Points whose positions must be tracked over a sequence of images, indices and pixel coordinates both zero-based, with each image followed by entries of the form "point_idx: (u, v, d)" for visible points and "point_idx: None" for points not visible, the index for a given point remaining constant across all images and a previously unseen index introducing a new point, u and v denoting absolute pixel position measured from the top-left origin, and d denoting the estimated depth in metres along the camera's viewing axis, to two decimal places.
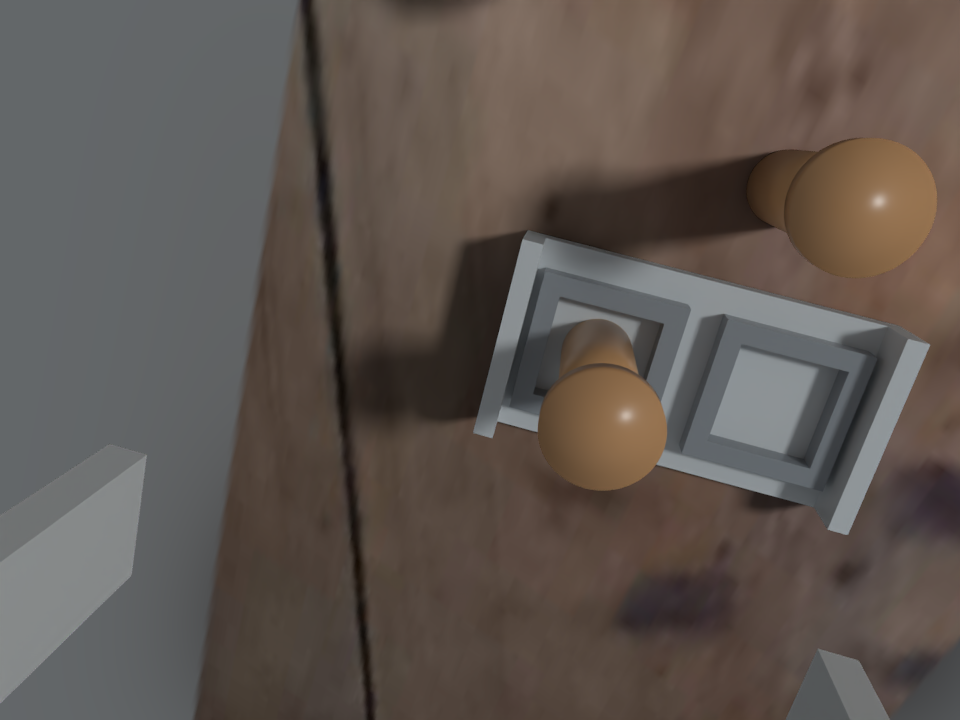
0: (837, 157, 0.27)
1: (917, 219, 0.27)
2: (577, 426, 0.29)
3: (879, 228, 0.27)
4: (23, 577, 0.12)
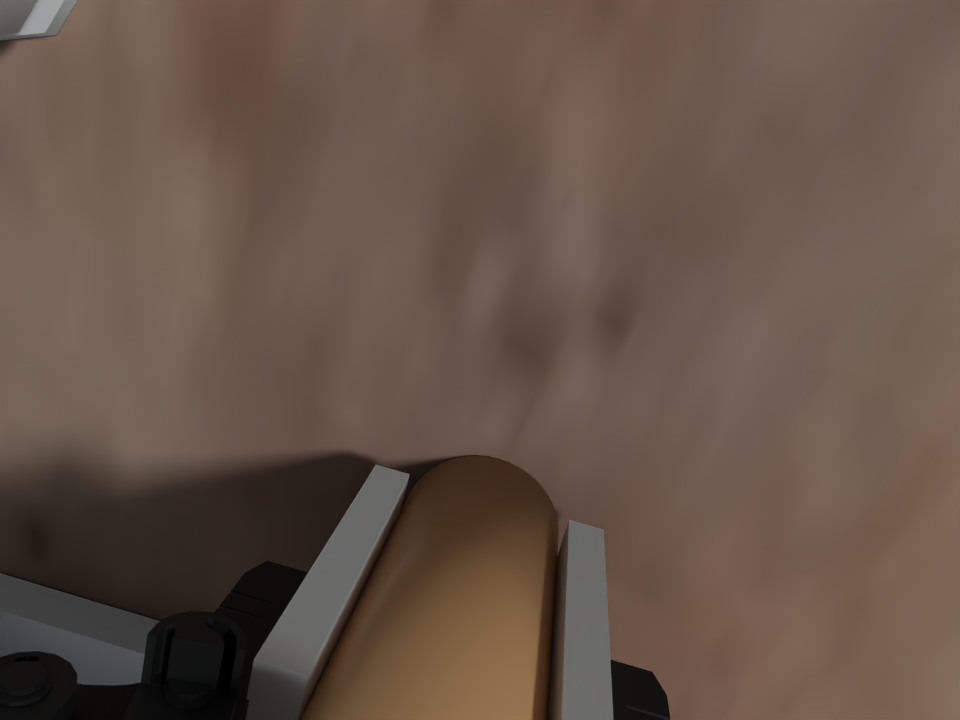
0: None
1: None
2: None
3: None
4: (361, 584, 0.14)
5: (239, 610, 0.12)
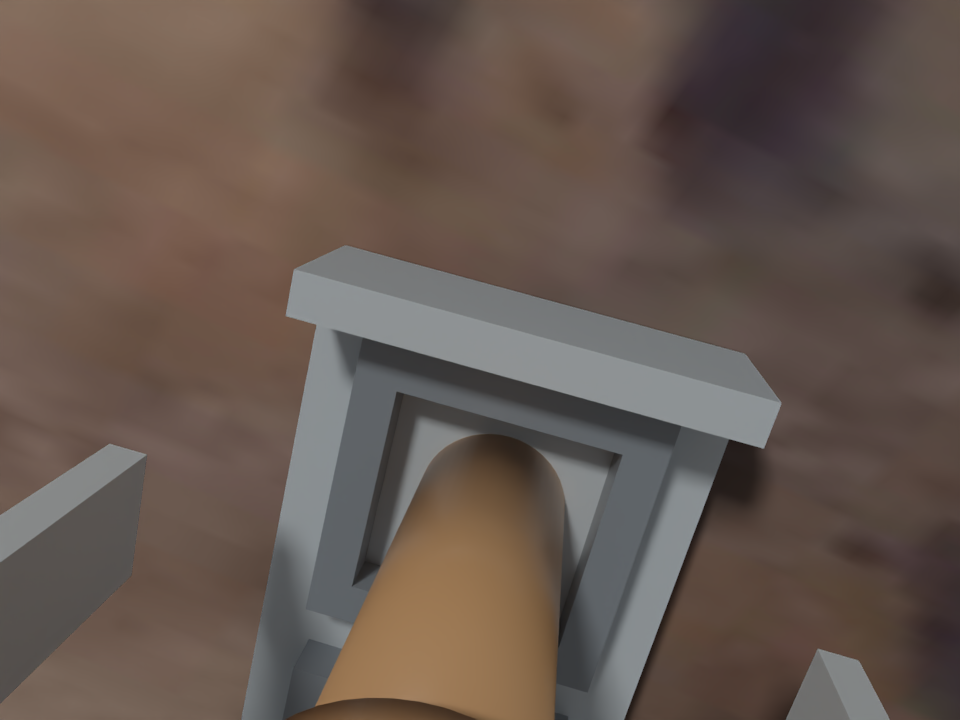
0: None
1: None
2: None
3: None
4: (23, 577, 0.12)
5: None
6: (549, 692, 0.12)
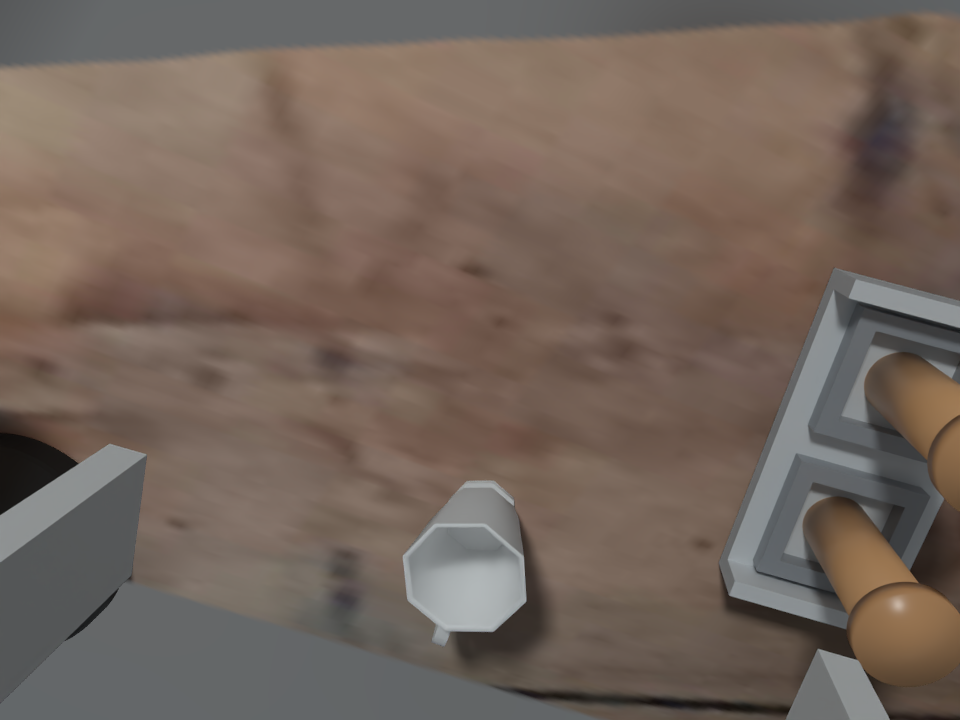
0: None
1: None
2: (902, 658, 0.35)
3: None
4: (23, 577, 0.12)
5: None
6: None
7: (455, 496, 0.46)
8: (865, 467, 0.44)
